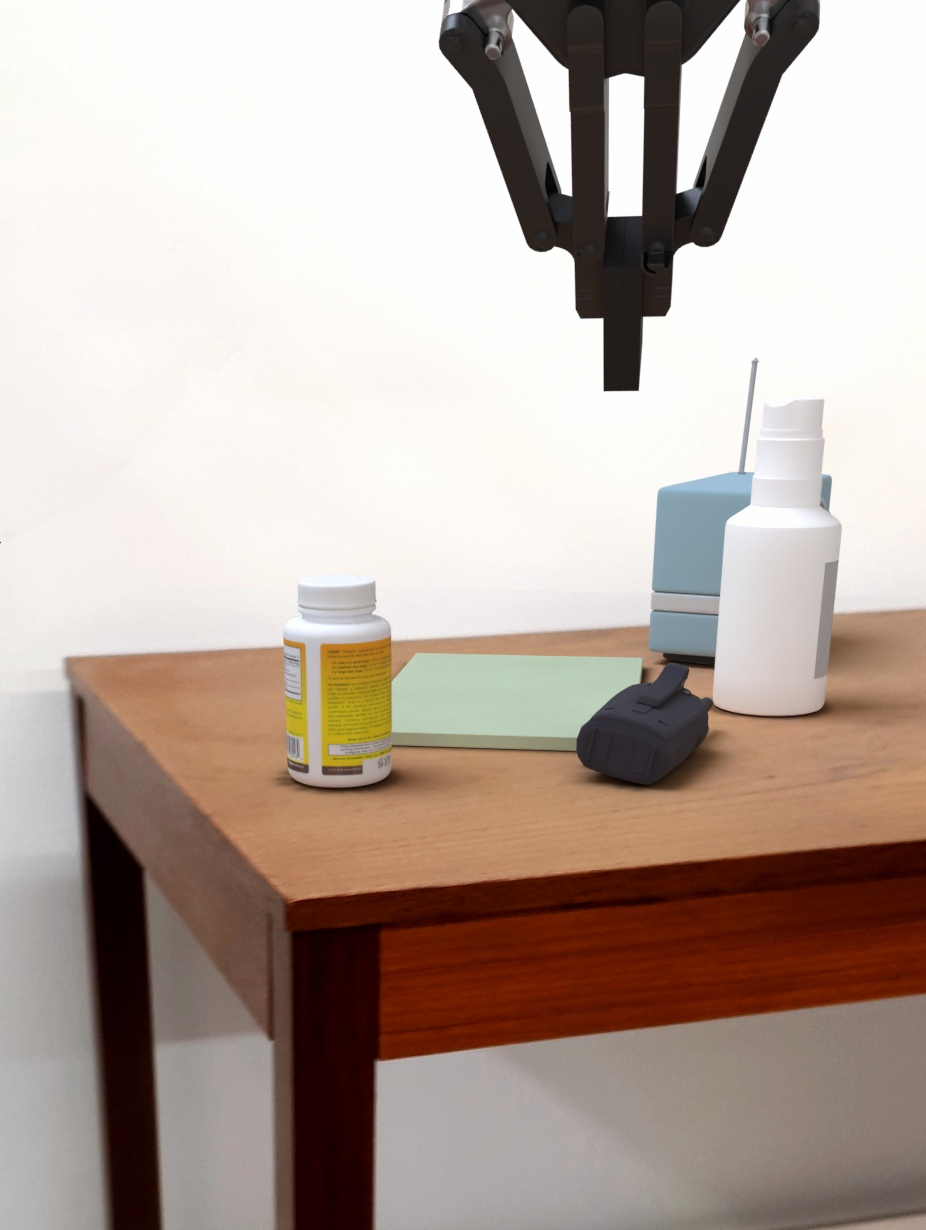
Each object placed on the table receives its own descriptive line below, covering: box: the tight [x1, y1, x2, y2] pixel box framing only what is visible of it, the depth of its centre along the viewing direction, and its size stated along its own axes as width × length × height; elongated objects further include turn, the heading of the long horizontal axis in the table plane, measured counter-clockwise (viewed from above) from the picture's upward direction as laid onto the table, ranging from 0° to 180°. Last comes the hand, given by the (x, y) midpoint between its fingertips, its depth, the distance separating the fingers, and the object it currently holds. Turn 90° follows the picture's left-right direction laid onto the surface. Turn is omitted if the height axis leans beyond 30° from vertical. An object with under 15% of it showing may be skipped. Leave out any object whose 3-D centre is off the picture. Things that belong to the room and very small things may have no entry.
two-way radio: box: [575, 662, 714, 786], centre depth 91 cm, size 6×4×15 cm
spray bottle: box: [712, 397, 843, 717], centre depth 101 cm, size 7×7×18 cm
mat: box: [392, 652, 644, 752], centre depth 106 cm, size 16×26×1 cm, turn 169°
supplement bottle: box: [282, 574, 393, 789], centre depth 87 cm, size 6×6×10 cm
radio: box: [648, 356, 833, 666], centre depth 119 cm, size 16×9×20 cm, turn 150°
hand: (623, 366), depth 71 cm, fingers closed
